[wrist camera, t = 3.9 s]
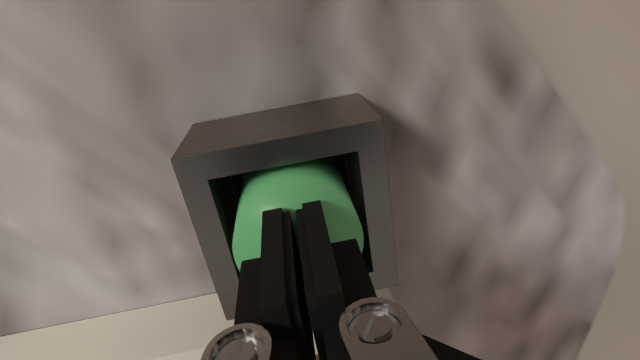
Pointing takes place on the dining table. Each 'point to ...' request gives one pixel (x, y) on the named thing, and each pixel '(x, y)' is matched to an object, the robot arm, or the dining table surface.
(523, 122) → the dining table surface
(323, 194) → the button
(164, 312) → the white compartment tray
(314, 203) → the robot arm
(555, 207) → the dining table surface
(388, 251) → the switch box
